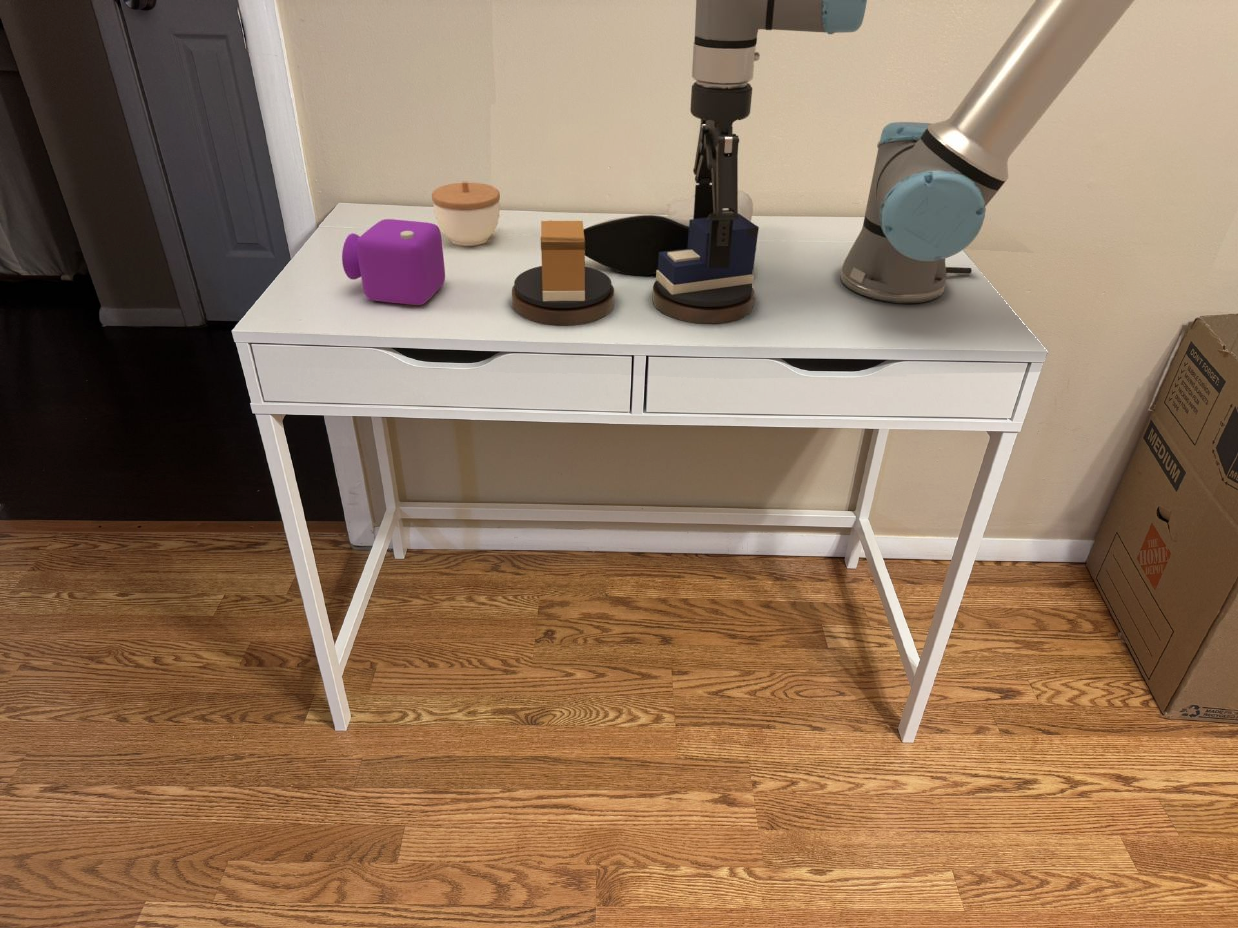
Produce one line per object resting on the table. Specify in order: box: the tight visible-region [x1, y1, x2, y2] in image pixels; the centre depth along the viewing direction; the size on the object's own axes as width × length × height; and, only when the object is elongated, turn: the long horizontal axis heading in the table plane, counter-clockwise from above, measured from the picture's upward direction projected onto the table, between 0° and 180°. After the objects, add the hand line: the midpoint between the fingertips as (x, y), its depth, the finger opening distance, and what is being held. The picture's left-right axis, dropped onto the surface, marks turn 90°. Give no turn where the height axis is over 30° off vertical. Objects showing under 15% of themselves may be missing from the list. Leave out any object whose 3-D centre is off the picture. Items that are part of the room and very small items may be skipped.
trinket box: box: [431, 180, 501, 247], centre depth 135 cm, size 11×11×9 cm
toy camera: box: [341, 218, 446, 306], centre depth 117 cm, size 11×14×10 cm
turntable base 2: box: [652, 280, 755, 325], centre depth 119 cm, size 14×14×2 cm
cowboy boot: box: [583, 190, 754, 277], centre depth 134 cm, size 10×28×25 cm
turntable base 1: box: [511, 283, 615, 326], centre depth 118 cm, size 14×14×2 cm
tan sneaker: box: [513, 220, 612, 308], centre depth 114 cm, size 14×14×9 cm
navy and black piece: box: [655, 214, 760, 307], centre depth 116 cm, size 14×14×9 cm
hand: (709, 248), depth 115 cm, fingers open, 13 cm apart
